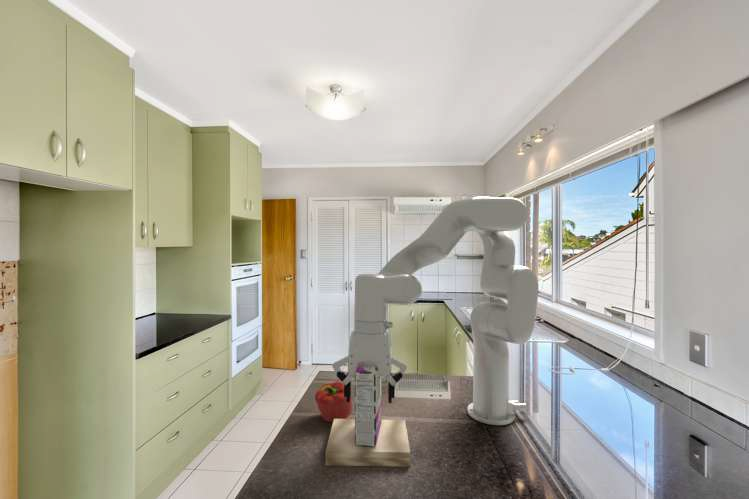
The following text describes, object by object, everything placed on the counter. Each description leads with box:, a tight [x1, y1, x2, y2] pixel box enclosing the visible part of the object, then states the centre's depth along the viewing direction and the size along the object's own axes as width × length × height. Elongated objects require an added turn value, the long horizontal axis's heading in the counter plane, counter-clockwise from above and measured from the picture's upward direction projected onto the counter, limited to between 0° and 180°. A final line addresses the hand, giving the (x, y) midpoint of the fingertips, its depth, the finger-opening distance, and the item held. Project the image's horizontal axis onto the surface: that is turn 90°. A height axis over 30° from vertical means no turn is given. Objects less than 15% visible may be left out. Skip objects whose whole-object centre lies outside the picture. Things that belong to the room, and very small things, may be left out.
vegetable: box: [314, 381, 353, 423], centre depth 92 cm, size 11×10×10 cm
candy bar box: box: [354, 367, 382, 447], centre depth 79 cm, size 11×5×16 cm, turn 172°
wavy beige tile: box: [324, 418, 411, 468], centre depth 79 cm, size 18×14×3 cm
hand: (369, 400), depth 79 cm, fingers open, 9 cm apart
